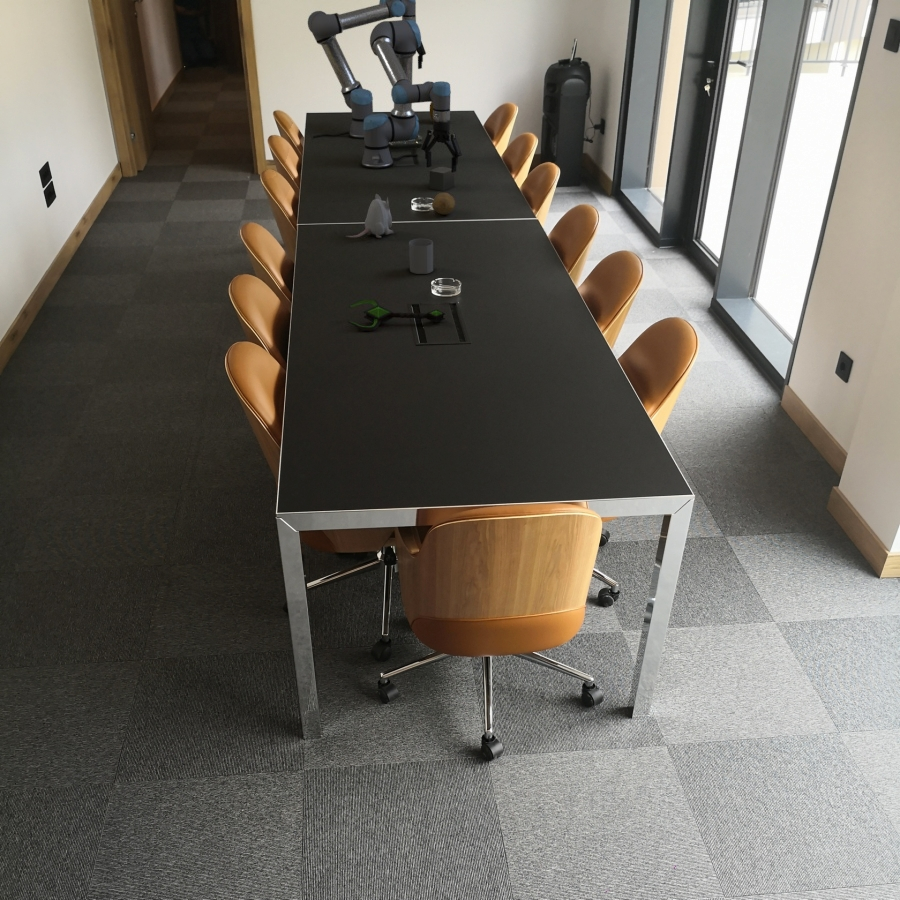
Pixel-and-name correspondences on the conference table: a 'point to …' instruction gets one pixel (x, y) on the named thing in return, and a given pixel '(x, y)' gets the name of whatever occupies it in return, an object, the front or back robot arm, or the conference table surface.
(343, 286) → the conference table surface
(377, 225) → the toy
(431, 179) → the gray cube
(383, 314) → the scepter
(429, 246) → the cup
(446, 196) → the potato
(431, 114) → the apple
